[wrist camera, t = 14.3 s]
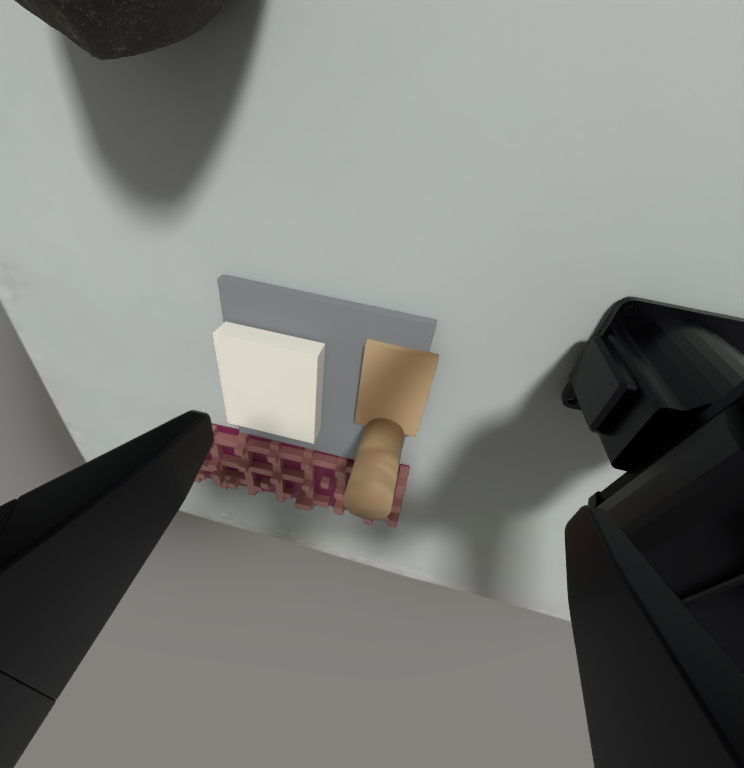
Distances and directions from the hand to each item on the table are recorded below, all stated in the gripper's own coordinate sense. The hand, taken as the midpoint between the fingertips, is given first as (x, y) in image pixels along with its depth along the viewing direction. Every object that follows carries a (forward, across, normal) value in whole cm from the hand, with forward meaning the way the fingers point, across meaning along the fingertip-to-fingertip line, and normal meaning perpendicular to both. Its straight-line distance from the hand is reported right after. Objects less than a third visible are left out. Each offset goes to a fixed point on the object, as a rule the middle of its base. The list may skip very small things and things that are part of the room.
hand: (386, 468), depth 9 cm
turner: (+11, 0, +8) cm, 14 cm away
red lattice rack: (+13, +7, +18) cm, 23 cm away
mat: (+12, +5, +8) cm, 15 cm away
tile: (+11, +5, +8) cm, 14 cm away
